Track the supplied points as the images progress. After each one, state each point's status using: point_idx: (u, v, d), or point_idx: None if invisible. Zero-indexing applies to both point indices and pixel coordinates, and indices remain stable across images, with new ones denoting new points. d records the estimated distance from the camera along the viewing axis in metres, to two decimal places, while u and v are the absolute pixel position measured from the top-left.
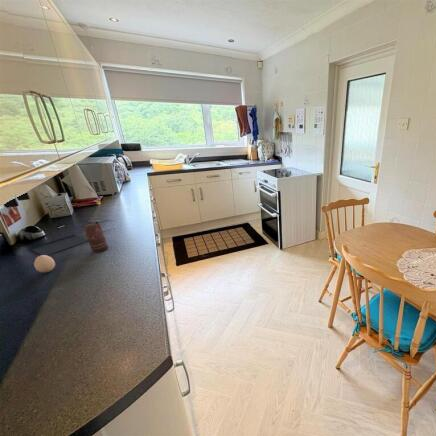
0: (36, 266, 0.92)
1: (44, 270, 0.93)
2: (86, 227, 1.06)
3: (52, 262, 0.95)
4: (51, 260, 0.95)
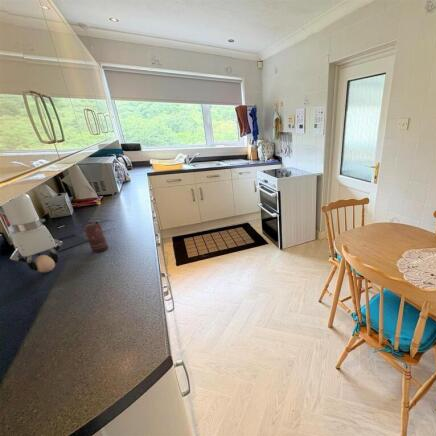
0: (36, 266, 0.92)
1: (44, 270, 0.93)
2: (86, 227, 1.06)
3: (52, 262, 0.95)
4: (51, 260, 0.95)
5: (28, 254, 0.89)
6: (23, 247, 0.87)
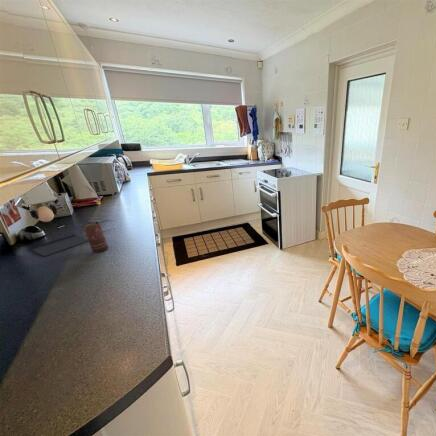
0: None
1: (44, 219, 1.07)
2: (86, 227, 1.06)
3: (51, 213, 1.09)
4: (50, 211, 1.09)
5: (30, 203, 1.02)
6: (27, 196, 1.01)
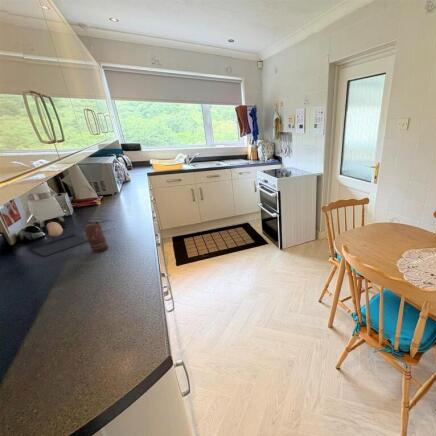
0: None
1: (54, 234, 1.13)
2: (86, 227, 1.06)
3: (60, 228, 1.15)
4: (59, 226, 1.15)
5: (41, 219, 1.08)
6: (37, 213, 1.07)
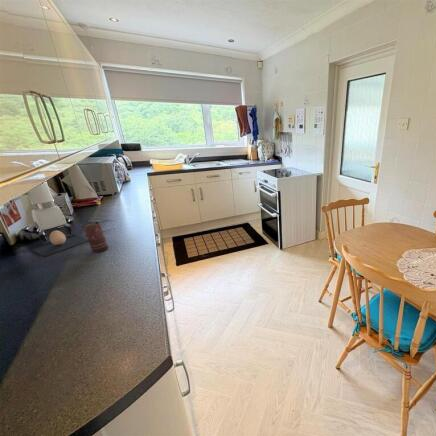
0: (51, 239, 1.14)
1: (57, 242, 1.15)
2: (86, 227, 1.06)
3: (64, 236, 1.17)
4: (63, 235, 1.17)
5: (45, 228, 1.10)
6: (41, 222, 1.08)
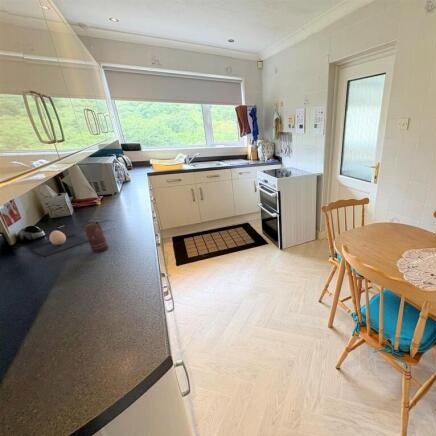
0: (51, 239, 1.14)
1: (57, 242, 1.15)
2: (86, 227, 1.06)
3: (64, 236, 1.17)
4: (63, 235, 1.17)
5: None
6: None
